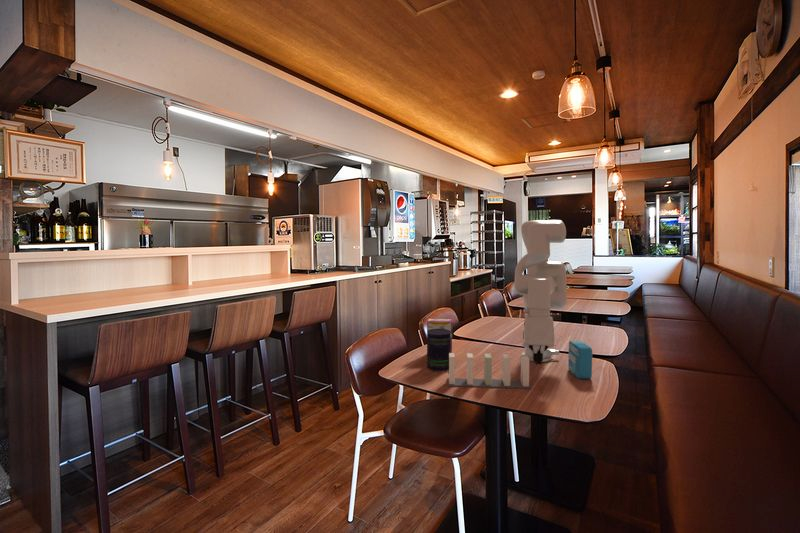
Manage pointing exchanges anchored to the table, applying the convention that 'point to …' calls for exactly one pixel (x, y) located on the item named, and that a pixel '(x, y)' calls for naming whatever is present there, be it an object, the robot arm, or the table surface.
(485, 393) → the table surface
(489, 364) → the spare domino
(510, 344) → the table surface
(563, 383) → the table surface
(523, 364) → the domino
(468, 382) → the domino
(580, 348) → the teal box
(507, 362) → the domino
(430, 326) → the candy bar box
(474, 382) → the mat
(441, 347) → the storage jar
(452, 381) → the domino
